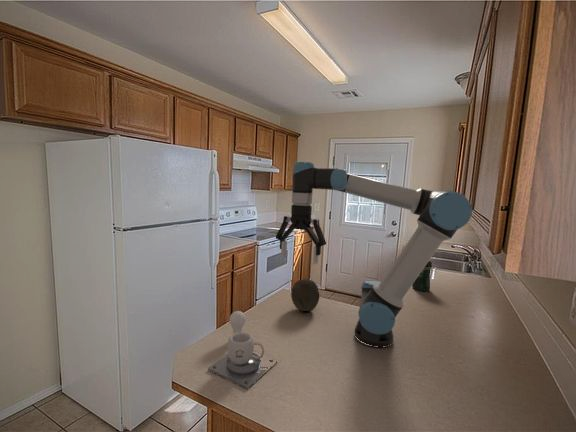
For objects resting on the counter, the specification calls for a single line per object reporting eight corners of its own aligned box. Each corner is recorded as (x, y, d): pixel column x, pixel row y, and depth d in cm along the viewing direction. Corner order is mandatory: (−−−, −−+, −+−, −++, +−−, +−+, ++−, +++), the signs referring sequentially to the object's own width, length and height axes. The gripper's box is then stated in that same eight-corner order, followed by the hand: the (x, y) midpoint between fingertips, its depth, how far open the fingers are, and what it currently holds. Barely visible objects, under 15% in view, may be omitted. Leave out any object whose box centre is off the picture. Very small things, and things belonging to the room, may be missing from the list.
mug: (224, 367, 93) (224, 343, 92) (230, 351, 101) (231, 330, 100) (262, 369, 92) (262, 345, 91) (265, 354, 100) (266, 332, 100)
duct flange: (277, 362, 99) (277, 357, 99) (247, 389, 86) (247, 383, 85) (240, 347, 107) (240, 342, 107) (207, 370, 94) (208, 364, 93)
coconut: (325, 312, 140) (326, 282, 139) (301, 319, 132) (303, 287, 131) (306, 302, 152) (308, 274, 150) (284, 307, 144) (285, 278, 142)
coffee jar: (431, 290, 178) (434, 260, 176) (424, 292, 174) (427, 262, 172) (417, 285, 186) (419, 257, 184) (409, 287, 182) (412, 258, 180)
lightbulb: (227, 336, 115) (228, 309, 114) (242, 333, 117) (243, 307, 116) (230, 344, 109) (231, 316, 108) (246, 341, 112) (247, 313, 111)
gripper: (337, 206, 106) (333, 264, 108) (278, 202, 118) (276, 253, 120) (329, 207, 99) (325, 268, 101) (268, 202, 112) (266, 257, 114)
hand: (299, 260), depth 111 cm, fingers open, 13 cm apart
